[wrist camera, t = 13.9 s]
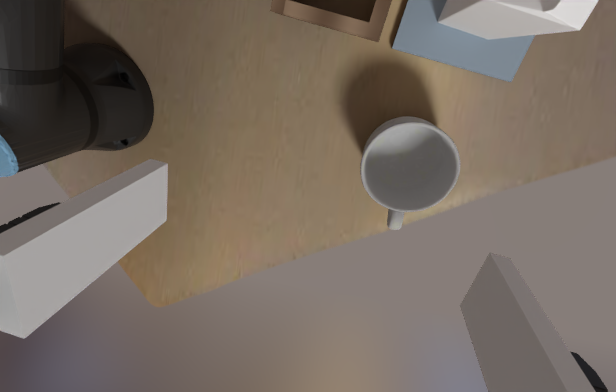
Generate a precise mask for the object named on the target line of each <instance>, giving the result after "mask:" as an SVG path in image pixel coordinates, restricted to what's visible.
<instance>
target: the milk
mask: <svg viewBox="0 0 616 392" xmlns="http://www.w3.org/2000/svg"><path fill="white" fill-rule="evenodd" d="M597 2H598V0H447V1H446V3H445V6H444V8H443V10H442V13H441V15H440V17H439V20H438V23H440V24H443V25H446V26H449V27H452V28H455V29H458V30H461V31H464V32H467V33H470V34H473V35H476V36H479V37H482V38H485V39H488V40H489V39H499V38H509V37H519V36H528V35H538V34H548V33H558V32H568V31H577V30H580V29H581V28H582V26H583V25H584V23H585V21H586V20H587V18H588V17H589V15H590V13H591V12H592V10H593V9H594V7H595V5H596V4H597Z"/></svg>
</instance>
